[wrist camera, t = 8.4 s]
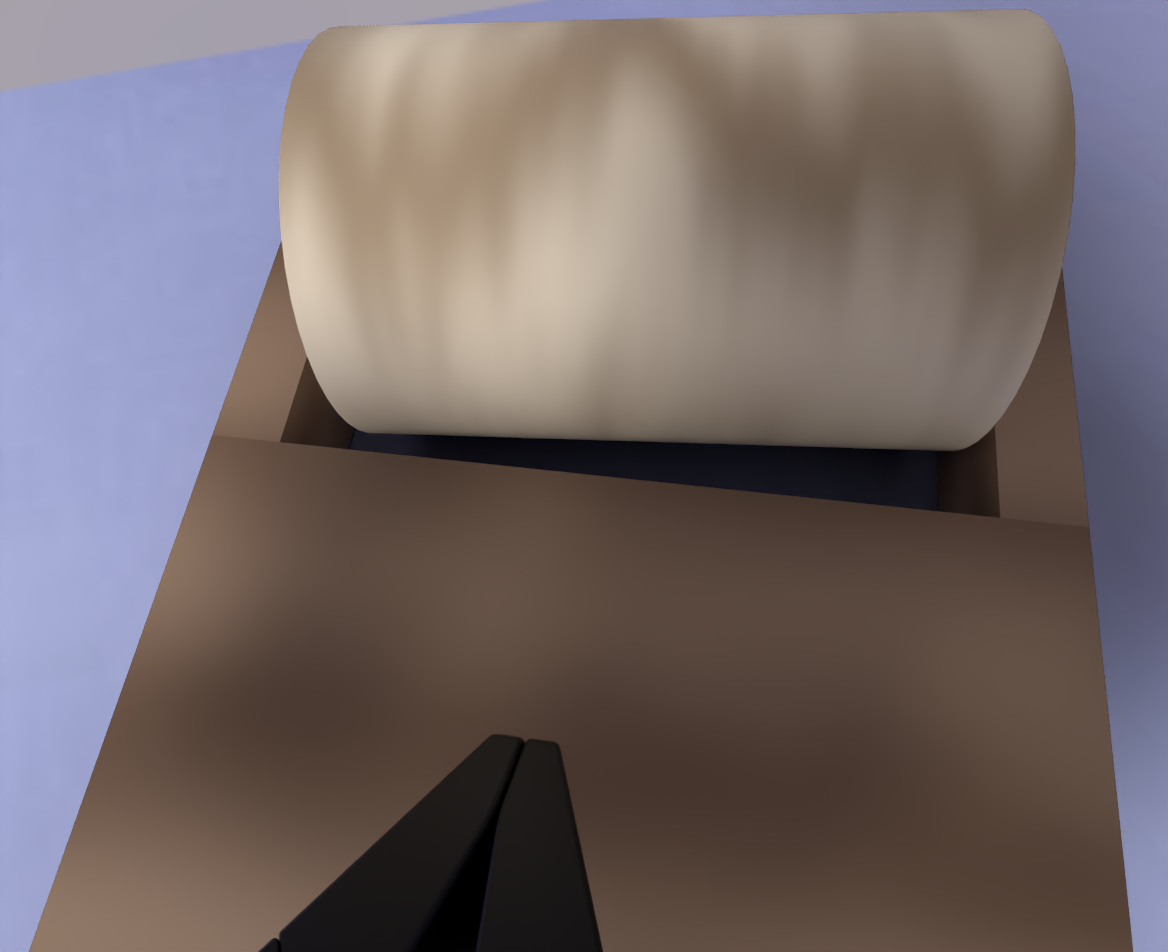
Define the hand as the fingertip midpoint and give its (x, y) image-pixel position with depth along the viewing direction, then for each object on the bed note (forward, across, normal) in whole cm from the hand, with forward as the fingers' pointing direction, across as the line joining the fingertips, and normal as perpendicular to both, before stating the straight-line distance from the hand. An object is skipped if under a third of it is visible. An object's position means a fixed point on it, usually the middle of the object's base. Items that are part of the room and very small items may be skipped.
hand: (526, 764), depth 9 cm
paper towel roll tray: (+8, 0, +2) cm, 8 cm away
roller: (+9, -1, -5) cm, 10 cm away
